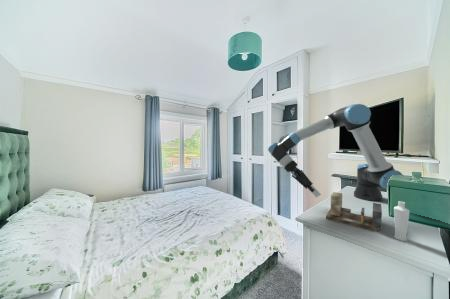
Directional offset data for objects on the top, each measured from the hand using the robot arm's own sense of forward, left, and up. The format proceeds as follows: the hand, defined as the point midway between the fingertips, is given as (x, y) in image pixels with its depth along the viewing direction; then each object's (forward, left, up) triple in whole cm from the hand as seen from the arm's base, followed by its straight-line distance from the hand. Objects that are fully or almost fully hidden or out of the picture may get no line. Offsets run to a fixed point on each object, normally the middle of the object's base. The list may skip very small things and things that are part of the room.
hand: (318, 195), depth 95 cm
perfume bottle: (-19, +25, -10) cm, 33 cm away
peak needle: (-14, +14, -7) cm, 21 cm away
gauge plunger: (-8, +7, -8) cm, 13 cm away
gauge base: (-11, +10, -9) cm, 18 cm away
